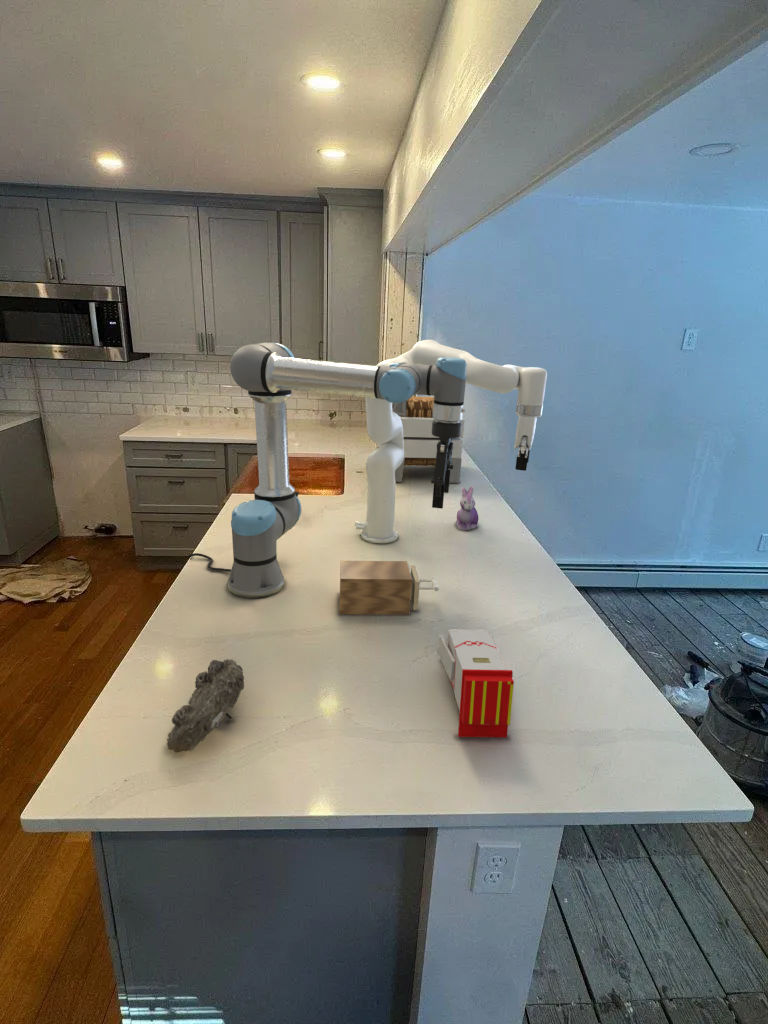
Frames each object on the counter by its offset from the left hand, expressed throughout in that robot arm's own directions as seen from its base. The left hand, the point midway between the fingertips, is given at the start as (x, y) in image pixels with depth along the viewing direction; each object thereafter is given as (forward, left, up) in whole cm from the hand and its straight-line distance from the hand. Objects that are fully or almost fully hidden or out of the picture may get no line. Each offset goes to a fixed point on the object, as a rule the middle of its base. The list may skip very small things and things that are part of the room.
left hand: (440, 499), depth 151 cm
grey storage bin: (-25, +119, -27) cm, 125 cm away
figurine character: (-62, +43, -27) cm, 80 cm away
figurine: (+4, +54, -27) cm, 61 cm away
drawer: (-9, -11, -26) cm, 30 cm away
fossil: (-32, -65, -27) cm, 77 cm away
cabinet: (-14, -13, -27) cm, 33 cm away
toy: (+14, -43, -27) cm, 53 cm away
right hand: (+21, +31, +4) cm, 37 cm away
